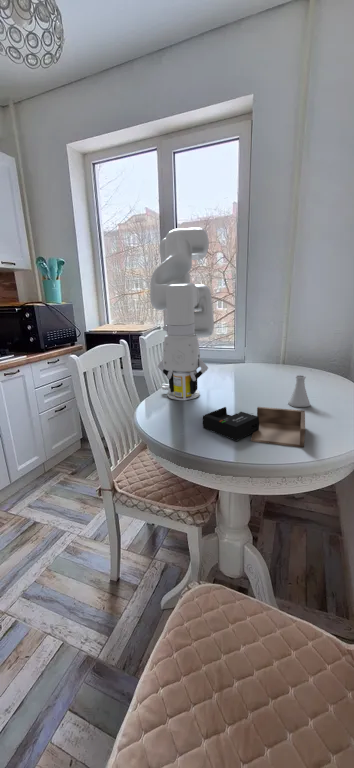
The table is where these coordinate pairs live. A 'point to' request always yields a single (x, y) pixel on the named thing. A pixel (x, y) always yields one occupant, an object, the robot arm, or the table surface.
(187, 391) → the supplement bottle
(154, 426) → the table surface
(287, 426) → the corner arena
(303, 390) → the flask
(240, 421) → the battery charger
